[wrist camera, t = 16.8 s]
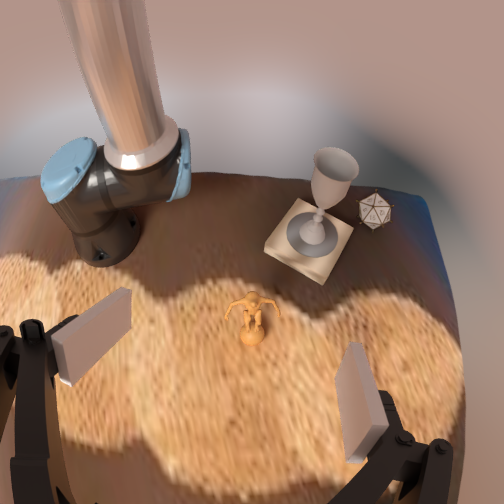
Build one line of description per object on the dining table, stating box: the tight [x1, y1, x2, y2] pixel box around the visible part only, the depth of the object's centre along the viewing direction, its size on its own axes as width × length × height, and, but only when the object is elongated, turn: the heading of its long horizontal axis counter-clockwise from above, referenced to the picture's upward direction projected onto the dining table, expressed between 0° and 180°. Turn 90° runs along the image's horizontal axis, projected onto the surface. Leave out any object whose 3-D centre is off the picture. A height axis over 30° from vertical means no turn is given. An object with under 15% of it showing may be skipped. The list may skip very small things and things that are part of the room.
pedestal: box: [264, 198, 354, 285], centre depth 56 cm, size 13×13×4 cm
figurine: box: [225, 291, 280, 346], centre depth 44 cm, size 8×6×12 cm
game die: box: [356, 189, 394, 233], centre depth 58 cm, size 9×8×10 cm
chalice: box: [299, 147, 359, 245], centre depth 47 cm, size 7×7×18 cm
